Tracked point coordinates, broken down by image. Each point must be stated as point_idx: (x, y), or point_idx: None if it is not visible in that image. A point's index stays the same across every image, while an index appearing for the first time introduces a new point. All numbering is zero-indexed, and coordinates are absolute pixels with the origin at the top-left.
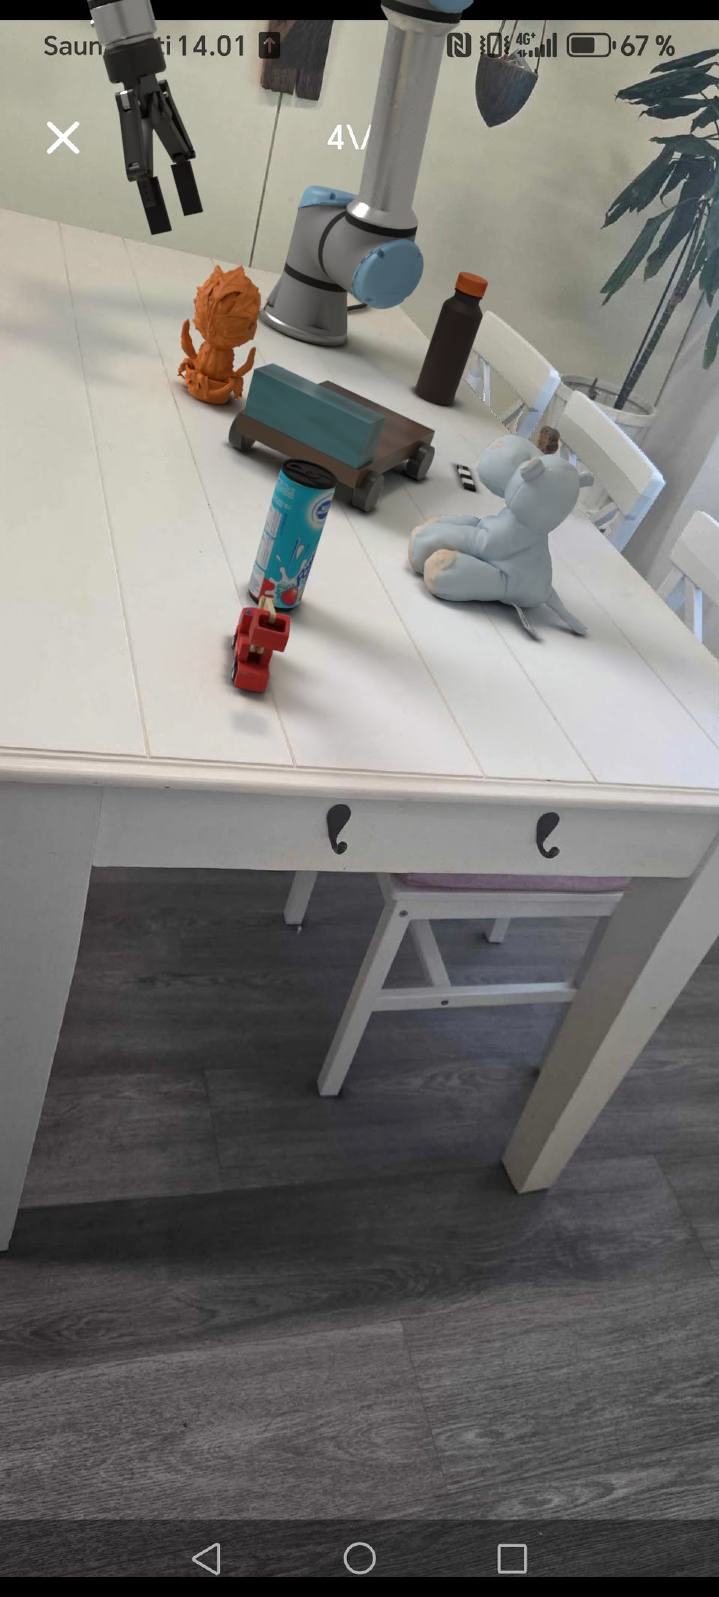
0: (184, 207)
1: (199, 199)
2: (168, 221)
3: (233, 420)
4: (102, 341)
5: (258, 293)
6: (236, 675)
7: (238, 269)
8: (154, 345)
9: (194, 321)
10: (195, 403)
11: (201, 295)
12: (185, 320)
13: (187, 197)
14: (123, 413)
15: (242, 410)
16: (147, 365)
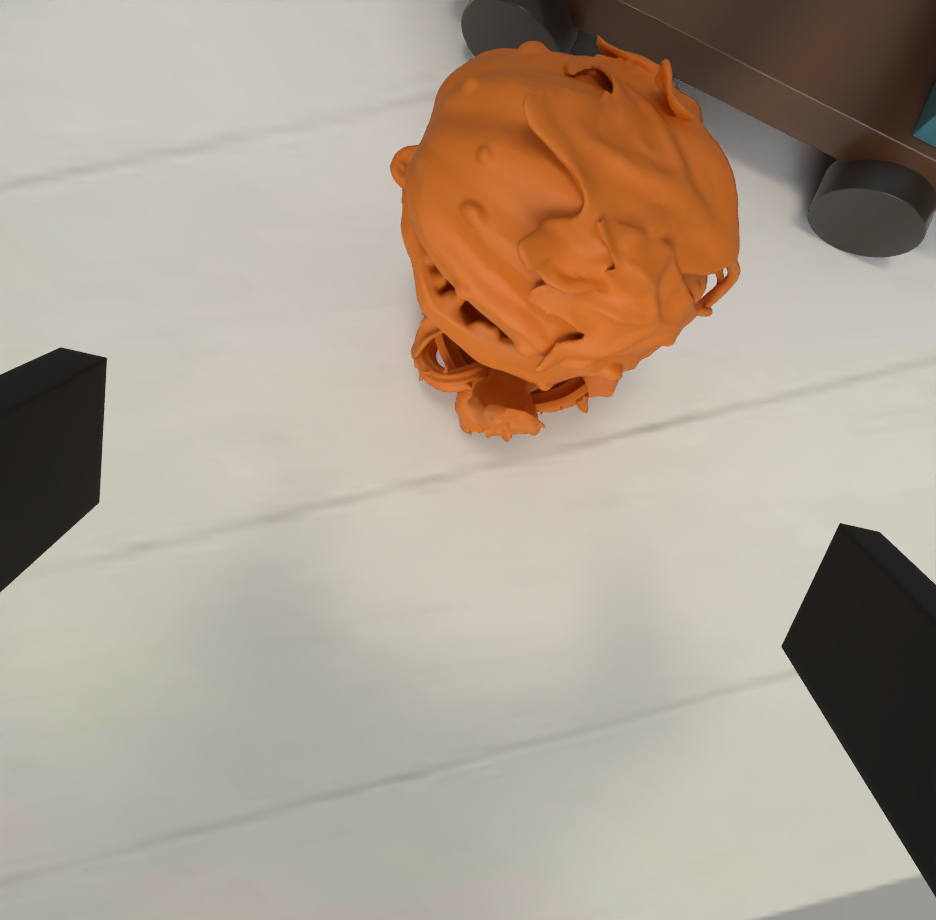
0: (73, 507)
1: (31, 378)
2: (902, 559)
3: (926, 231)
4: (302, 715)
5: (609, 44)
6: None
7: (552, 123)
8: (190, 548)
9: (565, 379)
10: None
11: (659, 338)
12: (529, 419)
13: (34, 493)
14: None
15: (906, 201)
16: (408, 545)
